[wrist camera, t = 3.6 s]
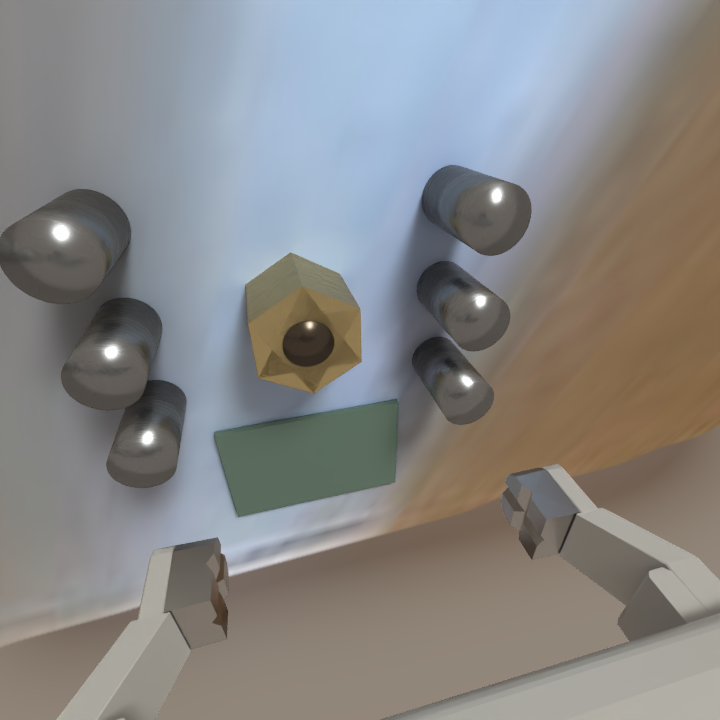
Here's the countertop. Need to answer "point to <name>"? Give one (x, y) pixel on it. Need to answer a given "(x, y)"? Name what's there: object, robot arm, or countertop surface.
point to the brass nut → (302, 324)
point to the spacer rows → (143, 325)
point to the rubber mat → (309, 456)
